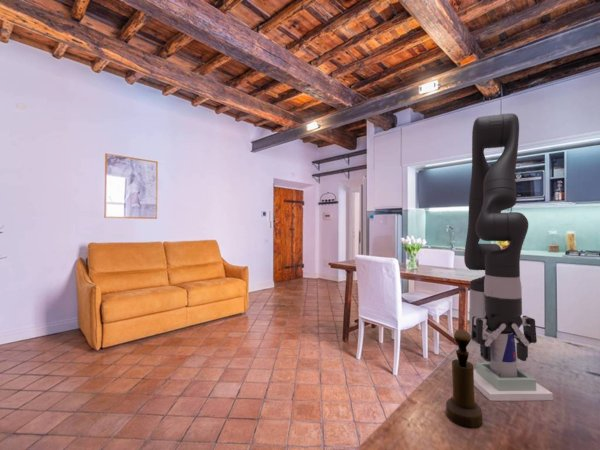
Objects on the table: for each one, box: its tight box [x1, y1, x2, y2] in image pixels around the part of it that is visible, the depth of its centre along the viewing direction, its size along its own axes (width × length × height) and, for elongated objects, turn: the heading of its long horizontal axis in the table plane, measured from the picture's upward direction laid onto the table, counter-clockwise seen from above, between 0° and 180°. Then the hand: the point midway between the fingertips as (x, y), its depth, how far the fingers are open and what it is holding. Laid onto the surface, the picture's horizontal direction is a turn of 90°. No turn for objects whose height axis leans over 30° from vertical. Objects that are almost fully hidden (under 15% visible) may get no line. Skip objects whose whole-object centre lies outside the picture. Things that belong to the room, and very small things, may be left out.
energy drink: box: [489, 330, 518, 378], centre depth 70 cm, size 5×5×12 cm
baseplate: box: [474, 361, 554, 402], centre depth 70 cm, size 11×14×4 cm
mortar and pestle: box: [445, 329, 483, 429], centre depth 59 cm, size 7×6×18 cm
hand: (503, 359), depth 70 cm, fingers open, 8 cm apart
